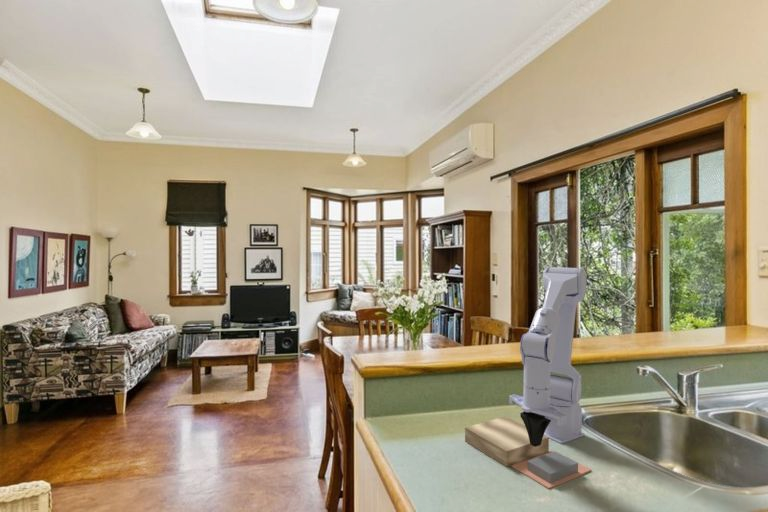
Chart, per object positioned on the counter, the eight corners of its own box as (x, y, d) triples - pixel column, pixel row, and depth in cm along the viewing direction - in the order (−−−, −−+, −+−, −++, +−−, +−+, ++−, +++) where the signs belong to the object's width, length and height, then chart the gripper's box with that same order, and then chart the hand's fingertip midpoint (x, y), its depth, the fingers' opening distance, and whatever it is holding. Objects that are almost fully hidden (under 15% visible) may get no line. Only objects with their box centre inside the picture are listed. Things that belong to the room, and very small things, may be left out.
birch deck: (505, 429, 115) (505, 416, 115) (548, 451, 103) (548, 437, 103) (465, 441, 108) (465, 427, 108) (506, 466, 96) (506, 451, 96)
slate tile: (578, 462, 94) (578, 471, 94) (554, 451, 99) (554, 459, 99) (550, 474, 89) (550, 483, 89) (527, 461, 94) (527, 470, 94)
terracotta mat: (553, 451, 103) (553, 450, 103) (591, 470, 95) (591, 469, 95) (511, 466, 96) (511, 465, 96) (548, 489, 88) (548, 487, 88)
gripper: (500, 379, 102) (499, 435, 102) (551, 399, 89) (550, 463, 90) (521, 374, 105) (520, 429, 106) (573, 393, 93) (572, 455, 93)
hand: (535, 444), depth 98 cm, fingers closed
